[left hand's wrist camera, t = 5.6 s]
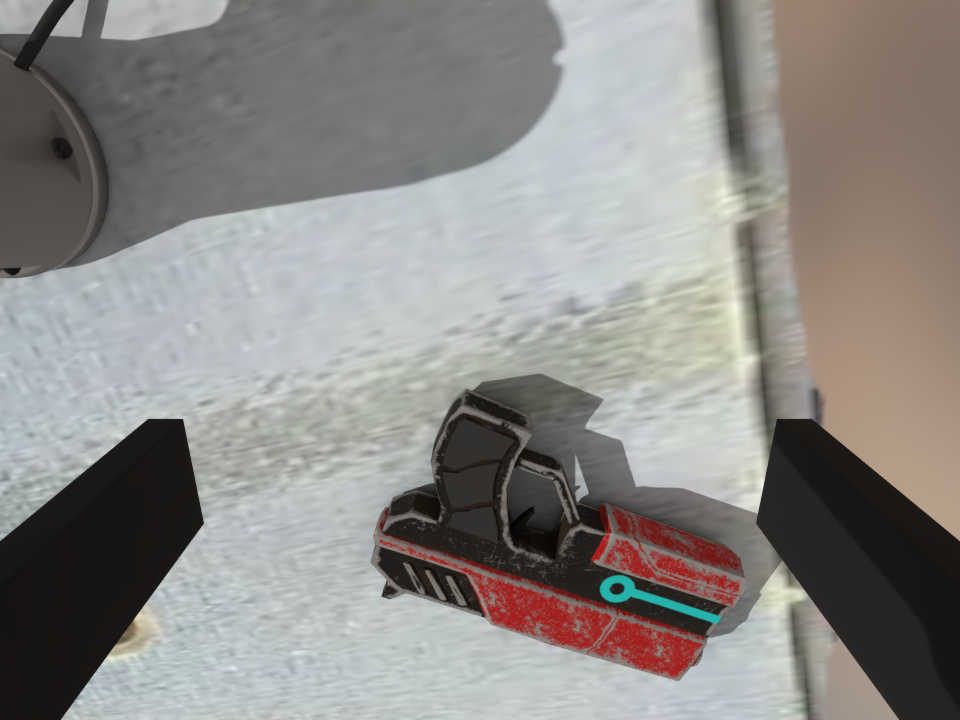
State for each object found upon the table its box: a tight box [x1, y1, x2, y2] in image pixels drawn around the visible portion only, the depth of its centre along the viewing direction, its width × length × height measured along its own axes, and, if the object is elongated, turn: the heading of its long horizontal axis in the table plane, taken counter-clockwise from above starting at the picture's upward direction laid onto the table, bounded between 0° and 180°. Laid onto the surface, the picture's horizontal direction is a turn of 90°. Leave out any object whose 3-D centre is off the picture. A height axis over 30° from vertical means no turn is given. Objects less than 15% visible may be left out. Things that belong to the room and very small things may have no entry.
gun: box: [371, 389, 747, 681], centre depth 48 cm, size 4×31×19 cm
